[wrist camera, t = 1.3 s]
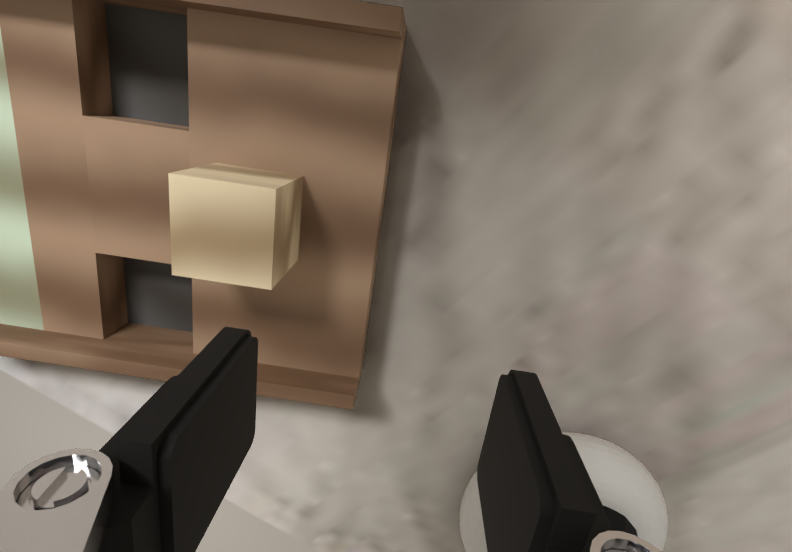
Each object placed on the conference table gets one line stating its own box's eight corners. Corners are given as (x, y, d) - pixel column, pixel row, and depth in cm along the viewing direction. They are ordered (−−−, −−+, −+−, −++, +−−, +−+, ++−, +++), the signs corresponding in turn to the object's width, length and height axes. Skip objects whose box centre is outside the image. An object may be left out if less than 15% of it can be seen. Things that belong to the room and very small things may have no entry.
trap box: (-83, -43, 26) (-198, -79, 21) (406, 27, 25) (402, 7, 20) (-16, 309, 33) (-89, 341, 28) (363, 367, 33) (352, 409, 28)
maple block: (215, 162, 25) (168, 173, 21) (303, 175, 25) (276, 189, 21) (215, 247, 27) (171, 274, 22) (298, 259, 27) (271, 289, 22)
